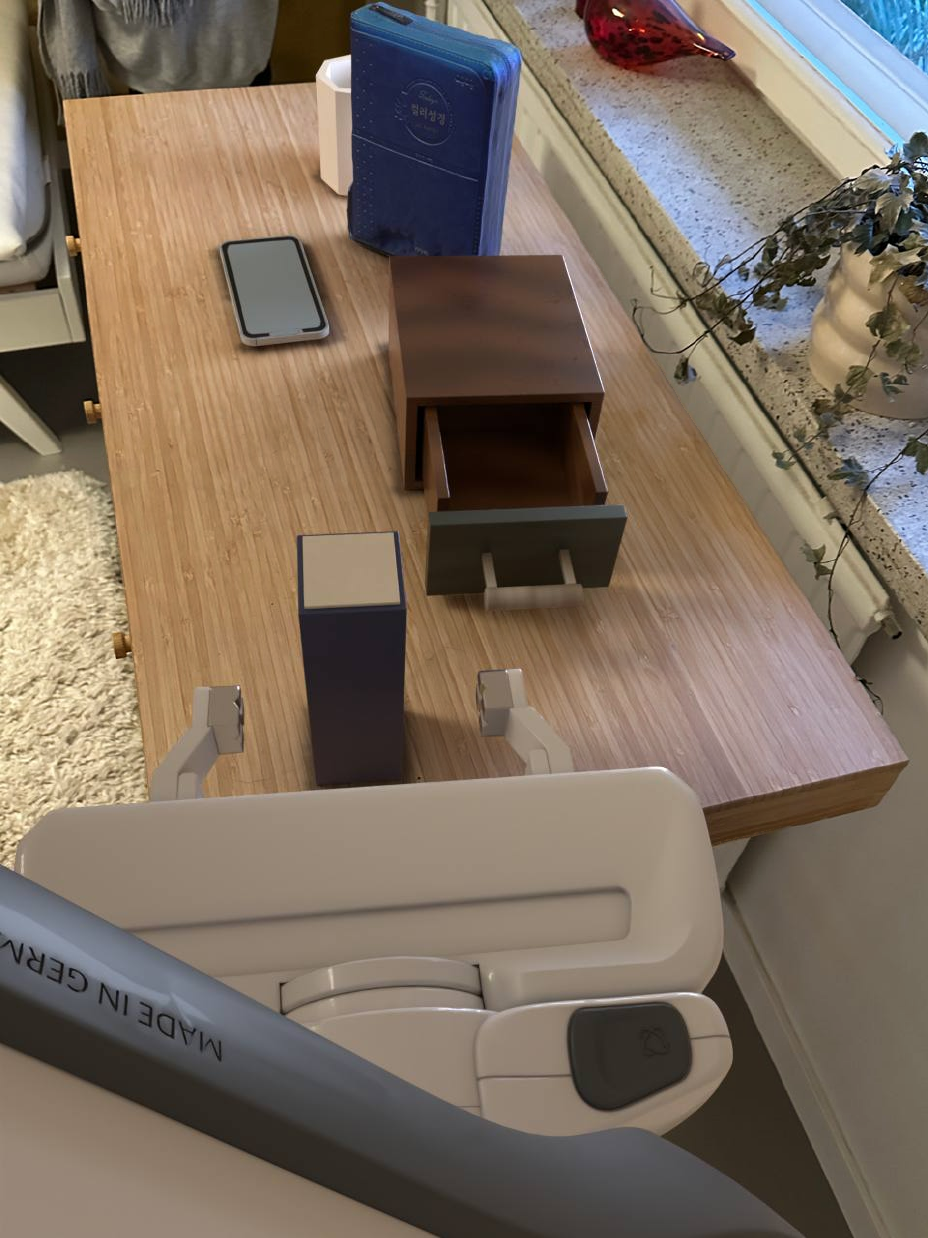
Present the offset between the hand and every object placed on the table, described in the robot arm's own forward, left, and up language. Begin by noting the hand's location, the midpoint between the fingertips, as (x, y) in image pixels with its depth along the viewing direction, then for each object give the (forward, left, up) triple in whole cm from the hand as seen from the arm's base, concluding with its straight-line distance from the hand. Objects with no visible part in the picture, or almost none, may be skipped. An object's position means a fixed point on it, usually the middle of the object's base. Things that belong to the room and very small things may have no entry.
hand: (360, 686), depth 35 cm
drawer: (-12, +28, -23) cm, 38 cm away
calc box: (-9, +9, -24) cm, 27 cm away
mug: (-51, +57, -24) cm, 80 cm away
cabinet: (-22, +38, -24) cm, 50 cm away
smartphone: (-45, +38, -24) cm, 63 cm away
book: (-39, +51, -24) cm, 68 cm away
